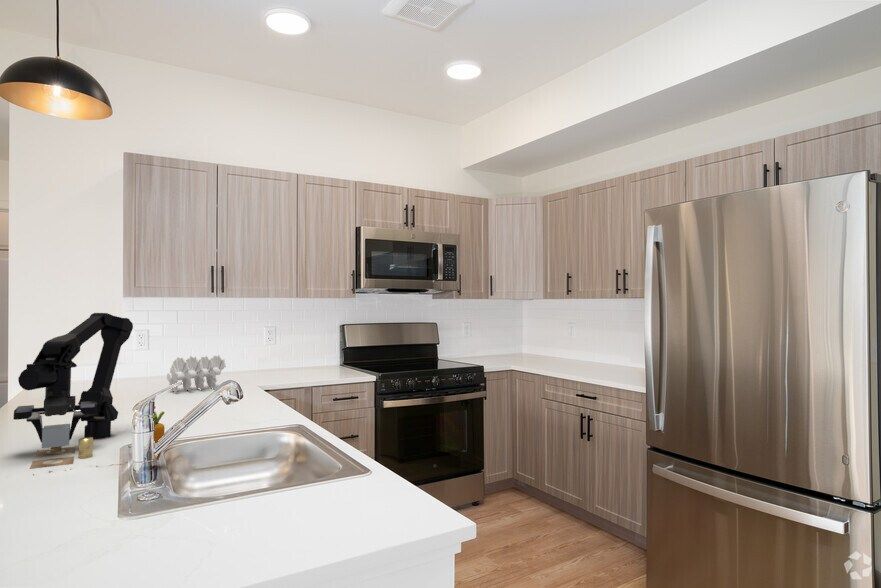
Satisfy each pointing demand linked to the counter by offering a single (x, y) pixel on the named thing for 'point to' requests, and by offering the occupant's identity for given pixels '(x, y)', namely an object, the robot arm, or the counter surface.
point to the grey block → (55, 435)
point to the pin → (85, 447)
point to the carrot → (158, 429)
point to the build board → (52, 462)
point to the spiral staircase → (195, 371)
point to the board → (43, 452)
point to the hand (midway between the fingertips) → (56, 440)
